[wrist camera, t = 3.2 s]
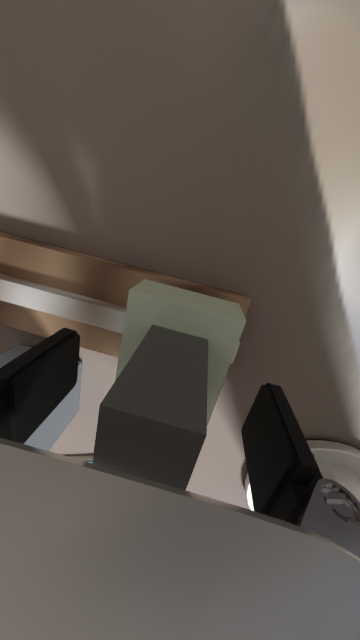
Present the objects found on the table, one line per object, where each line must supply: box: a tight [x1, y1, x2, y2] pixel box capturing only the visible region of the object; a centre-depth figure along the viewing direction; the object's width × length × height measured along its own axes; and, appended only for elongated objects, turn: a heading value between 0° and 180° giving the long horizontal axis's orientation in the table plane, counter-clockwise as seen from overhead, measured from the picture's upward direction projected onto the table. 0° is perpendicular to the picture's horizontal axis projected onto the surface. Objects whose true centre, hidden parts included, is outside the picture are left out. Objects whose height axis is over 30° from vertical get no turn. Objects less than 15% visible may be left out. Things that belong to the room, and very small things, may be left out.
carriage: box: [92, 279, 246, 490], centre depth 11 cm, size 6×7×9 cm
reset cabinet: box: [0, 344, 82, 451], centre depth 18 cm, size 6×6×8 cm
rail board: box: [0, 232, 251, 364], centre depth 17 cm, size 20×7×2 cm, turn 77°
